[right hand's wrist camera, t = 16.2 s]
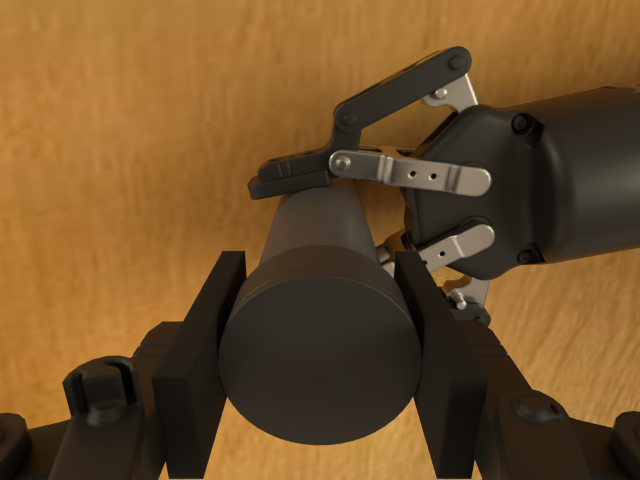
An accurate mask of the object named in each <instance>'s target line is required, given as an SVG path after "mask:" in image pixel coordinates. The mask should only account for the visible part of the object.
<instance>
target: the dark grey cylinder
mask: <svg viewBox="0 0 640 480" xmlns="http://www.w3.org/2000/svg"><path fill="white" fill-rule="evenodd" d="M309 245H331V246H339V247H343V248H347V249H351V250H353V251H356V252H359V253H361V254H363V255H365V256H367V257H369V258H371V259H372V260H374V261H375V262H377V263H378V264H379V265H381V262H380V259H379V256H378V253H377V250H376V247H375V244H374V241H373V238H372V235H371V232H370V229H369V226H368V223H367V220H366V217H365V214H364V211H363V208H362V205H361V201H360V198H359V195H358V192H357V189H356V186H355V183H354V180H353V179H351V178H343V177H337V178H332V179H330V185H328V186H323V187H318V188H311V189H307V190H303V191H298V192H293V193H288V194H283V195H282V196H281V199H280V202H279V205H278V208H277V211H276V214H275V217H274V220H273V223H272V226H271V229H270V232H269V235H268V238H267V241H266V244H265V247H264V250H263V254H262V257H261V260H260V263H259V266H260V265H261V264H262V263H264V262H265V261H266V260H268V259H270V258H271V257H273V256H275V255H277V254H279V253H282V252H284V251H287V250H290V249H293V248H297V247H302V246H309ZM381 266H382V265H381Z"/></svg>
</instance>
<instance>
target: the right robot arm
mask: <svg viewBox="0 0 640 480" xmlns="http://www.w3.org/2000/svg"><path fill="white" fill-rule="evenodd" d="M246 279H247V276H246V261H245V251H222V253H221V255H220V257H219V259H218V260H217V262H216V264H215V266H214V267H213V269H212V271H211V273H210V275H209V276H208V278H207V280H206V282H205V283H204V285H203V287H202V289H201V291H200V292H199V294H198V296H197V298H196V299H195V301H194V303H193V305H192V307H191V308H190V310H189V312H188V314H187V315H186V317H185V319H184V321H183V322H161V323H160V324H159V325H157V326H156V327H155V328H153V329H152V330H150V331H149V332H148V333H147V335H146V336H145V338H144V339H143V341H142V342H141V343H140V347H138V348H137V349H136V351H135V352H134V354H133V357H131V358H128V357H124V356H105V357H101V358H97V359H93V360H91V361H89V362H86V363H84V364H82V365H80V366H78V367H77V368H76V369H74V370H73V371H72V372H70V373H69V374H68V375H67V377H66V378H65V379H64V381H63V382H62V384H63V387H64V391H65V395H66V398H67V402H68V406H69V409H70V413H71V419H69V420H66V421H62V422H59V423H55V424H50V425H46V426H42V427H37V428H33V429H29V430H28V428H27V425H26V422H25V419H23V418H22V417H21V416H20V415H19V414H12V413H2V414H0V480H158V479H159V476H160V474H161V471H162V469H163V466H164V464H165V461H166V465H167V471H168V476H169V479H203V478H204V474H205V471H206V467H207V464H208V460H209V457H210V454H211V450H212V447H213V443H214V440H215V436H216V433H217V430H218V426H219V423H220V419H221V416H222V412H223V409H224V406H225V402H226V399H227V395H226V393H225V391H224V389H223V386H222V384H221V380H220V376H219V367H218V348H219V343H220V339H221V336H222V333H223V331H224V328H225V325H226V323H227V320H228V318H229V315H230V312H231V310H232V307H233V304H234V302H235V299H236V297H237V294H238V292H239V290H240V288H241V286H242V285H243V283H244V282H245V280H246ZM394 280H395V281H396V283H397V285H398V286H399V288H400V290H401V291H402V294H403V296H404V299H405V301H406V304H407V306H408V309H409V312H410V314H411V317H412V320H413V322H414V325H415V327H416V330H417V333H418V335H419V338H420V342H421V346H422V354H423V359H422V369H421V377H420V381H419V384H418V387H417V389H416V391H415V394H414V395H413V398H414V401H415V405H416V408H417V412H418V415H419V419H420V422H421V425H422V429H423V432H424V436H425V439H426V443H427V446H428V449H429V453H430V456H431V460H432V463H433V467H434V470H435V473H436V477H437V479H471V478H472V472H473V466H474V461H476V464H477V466H478V469H479V471H480V474H481V476H482V480H640V412H637V411H631V412H624V413H621V414H620V415H619V416H618V417H617V418H616V420H615V423H614V426H613V428H611V427H606V426H602V425H597V424H593V423H589V422H584V421H580V420H577V419H574V418H570V417H569V416H568V414H567V413H566V411H565V410H564V408H563V406H561V405H560V404H559V403H558V402H557V401H555V400H554V399H553V398H551V397H550V396H548V395H546V394H544V393H542V392H540V391H536V390H533V389H532V388H531V387H530V385H529V384H528V382H527V381H526V380H525V378H524V377H523V375H522V374H521V372H520V371H519V369H518V368H517V366H516V365H515V363H514V362H513V360H512V359H511V358H510V356H509V355H507V352H506V350H505V349H504V347H503V346H502V345H501V344H500V341H499V340H498V338H497V337H496V336H495V334H494V333H493V331H492V330H491V329H489V328H488V327H486V326H485V325H484V324H482V323H481V322H479V321H478V320H456V319H455V317H454V315H453V313H452V311H451V310H450V308H449V306H448V304H447V303H446V301H445V299H444V297H443V295H442V294H441V292H440V290H439V288H438V287H437V285H436V283H435V281H434V279H433V278H432V276H431V274H430V272H429V271H428V269H427V267H426V265H425V263H424V262H423V260H422V258H421V256H420V255H419V253H418V251H395V265H394Z"/></svg>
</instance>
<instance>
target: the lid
mask: <svg viewBox="0 0 640 480" xmlns="http://www.w3.org/2000/svg"><path fill="white" fill-rule="evenodd" d="M422 359H423V354H422V346H421V342H420V338H419V335H418V333H417V330H416V327H415V325H414V322H413V320H412V317H411V314H410V312H409V309H408V306H407V304H406V301H405V299H404V296H403V294H402V291H401V290H400V288H399V286H398V285H397V283H396V281H395V280H394V279H393V278H392V276H391V275H390V274H389V273H388V272H387V271H386V270H385V269H384V268H383V267H382V266H381V265H379V264H378V263H377V262H375V261H374V260H372V259H371V258H369V257H367V256H365V255H363V254H361V253H359V252H356V251H353V250H351V249H347V248H343V247H339V246H331V245H309V246H302V247H297V248H293V249H290V250H287V251H284V252H282V253H279V254H277V255H275V256H273V257H271V258H270V259H268V260H266V261H265V262H264V263H262V264H261V265H260V266H258V267H257V268H256V269H255V270H254V271H253V272H252V273H251V274H250V275H249V276H248V278H247V279H246V280H245V282H244V283H243V285H242V286H241V288H240V290H239V292H238V294H237V297H236V299H235V302H234V304H233V307H232V310H231V312H230V315H229V318H228V320H227V323H226V325H225V328H224V331H223V333H222V336H221V339H220V343H219V348H218V367H219V376H220V380H221V384H222V386H223V389H224V391H225V393H226V395H227V397H228V398H229V400H230V401H231V403H232V405H233V406H234V407H235V408H236V409H237V411H238V412H239V413H240V414H241V415H242V416H243V417H244V418H246V419H247V420H248V421H249V422H250V423H252V424H253V425H255V426H256V427H257V428H259V429H261V430H263V431H264V432H266V433H268V434H270V435H273V436H275V437H277V438H280V439H283V440H287V441H290V442H295V443H300V444H307V445H333V444H341V443H345V442H350V441H354V440H357V439H360V438H363V437H365V436H368V435H370V434H372V433H374V432H376V431H378V430H379V429H381V428H383V427H384V426H386V425H387V424H388V423H390V422H391V421H392V420H394V419H395V418H396V417H397V416H398V415H399V414H400V413H401V412H402V411H403V410H404V408H405V407H406V406H407V405H408V403H409V402H410V400H411V399H412V397H413V395H414V394H415V391H416V389H417V387H418V384H419V381H420V377H421V369H422Z"/></svg>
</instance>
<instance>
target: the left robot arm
mask: <svg viewBox="0 0 640 480" xmlns="http://www.w3.org/2000/svg"><path fill="white" fill-rule="evenodd" d="M470 67H471V55H470V53H469V52H468V50H467V49H465V48H463V47H460V46H457V47H451V48H447V49H443V50H439V51H436V52H434V53H432V54H430V55H429V56H427V57H425V58H423V59H421V60H419V61H417V62H415V63H414V64H412V65H410V66H408V67H406V68H404V69H402V70H401V71H399V72H397V73H395V74H393V75H391V76H389V77H388V78H386V79H384V80H382V81H380V82H378V83H376V84H375V85H373V86H371V87H369V88H367V89H365V90H363V91H361V92H360V93H358V94H356V95H354V96H352V97H350V98H348V99H347V100H345V101H343V102H341V103H339V104H338V105H337V106H336V107H335V109H334V113H333V116H334V121H333V127H332V134H331V138H330V140H329V142H328V143H327V144H326V145H325V146H324V147H322V148H320V149H317V150H312V151H307V152H302V153H297V154H293V155H288V156H283V157H278V158H273V159H270V160H268V161H267V162H265V163H264V164H263V165H261V167H260V168H259V170H258V171H257V172H258V175H257V176H255V177H253V178H252V179H251V180H250V181H249V183H248V188H249V192H250V196H251V199H252V200H258V199H263V198H268V197H273V196H278V195H283V194H288V193H293V192H298V191H303V190H307V189H311V188H318V187H323V186H328V185H330V179H332V178H337V177H343V178H351V179H360V180H369V181H377V182H381V183H383V184H386V185H392V186H399V189H400V191H401V194H402V196H403V198H404V200H405V203H406V207H405V214H404V224H405V228H404V229H402V230H400V231H398V232H396V233H394V234H392V235H390V236H389V237H388V238H387V239H386V240H385V242H384V243H382V244H381V245H379V246H377V247H376V250H377V253H378V256H379V259H380V262H381V265H382V267H383V268H384V269H385V270H386V271H387V272H388V273H389V274H390V275H391V276H392V278H393V279H394V265H395V251H418V253H419V255H420V256H421V258H422V260H423V262H424V263H425V265H426V267H427V269H428V271H429V272H430V273H431V272H433V271H435V270H437V269H439V268H441V267H443V266H447V267H449V268H451V269H454V270H456V271H458V272H461V273H463V274H465V275H464V276H463V277H462V278H460V279H458V280H447V281H445V283H444V285H443V286H442V287H438V288H439V290H440V292H441V294H442V295H443V297H444V299H445V301H446V303H447V304H448V306H449V308H450V310H451V311H452V313H453V315H454V317H455V319H456V320H478V321H479V322H481V323H482V324H484V325H485V326H486V327H488V326H489V324H490V322H491V318H490V315H489V314H488V312H487V311H486V310H485V308H484V304H485V300H486V295H487V291H488V287H489V283H490V280H492V279H495V278H497V277H499V276H501V275H502V274H504V273H505V272H507V271H508V270H510V269H512V268H514V267H516V266H520V265H531V264H552V263H557V262H563V261H568V260H574V259H579V258H585V257H590V256H595V255H601V254H606V253H612V252H618V251H623V250H629V249H634V248H640V80H636V81H631V82H627V83H622V84H617V85H612V86H607V87H603V88H598V89H593V90H589V91H584V92H579V93H574V94H569V95H565V96H560V97H555V98H550V99H546V100H541V101H536V102H531V103H527V104H522V105H517V106H512V107H507V108H494V107H491V106H488V105H483V104H478V101H477V98H476V95H475V93H474V90H473V87H472V84H471V81H470V79H469V76H468V73H467V72H468V71H469V69H470ZM417 100H420V102H421V103H422V104H424V105H426V106H429V107H440V106H443V105H447V106H449V107H450V108H451V110H452V113H451V114H450V115H449V116H448V117H447V118H446V119H445V120H444V121H443V122H442V123H441V124H440V125H439V126H438V127H437V128H436V129H435V130H434V131H433V132H432V133H431V134H430V135H429V136H428V137H427V138H426V139H425V140H424V141H423V142H422V143H421V145H420V146H419V147H418V148H417V149H410V148H401V147H392V146H383V145H378V146H372V145H363V144H359V141H360V135H361V130H362V129H363V128H365V127H367V126H369V125H371V124H373V123H375V122H376V121H378V120H380V119H382V118H384V117H386V116H388V115H390V114H392V113H394V112H396V111H398V110H400V109H401V108H403V107H405V106H407V105H409V104H411V103H413V102H415V101H417Z"/></svg>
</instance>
